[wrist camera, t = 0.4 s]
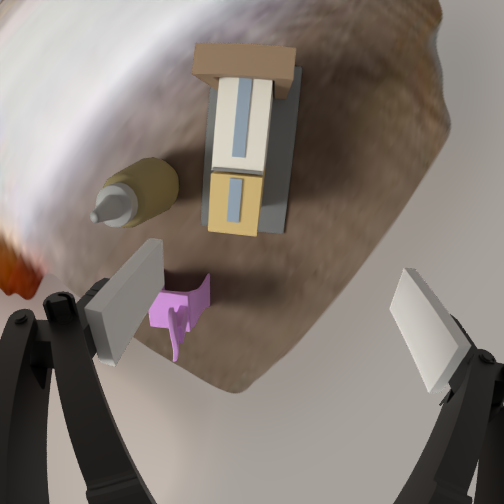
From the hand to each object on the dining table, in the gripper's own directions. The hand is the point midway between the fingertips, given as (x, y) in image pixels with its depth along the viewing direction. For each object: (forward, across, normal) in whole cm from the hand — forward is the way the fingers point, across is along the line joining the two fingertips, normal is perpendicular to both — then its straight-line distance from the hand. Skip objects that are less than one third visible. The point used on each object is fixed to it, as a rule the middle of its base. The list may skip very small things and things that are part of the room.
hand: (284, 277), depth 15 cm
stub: (+27, -4, -1) cm, 27 cm away
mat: (+27, -4, +4) cm, 28 cm away
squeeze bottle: (+28, -17, -2) cm, 32 cm away
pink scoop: (+27, -13, -19) cm, 36 cm away
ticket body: (+27, -4, +8) cm, 29 cm away
